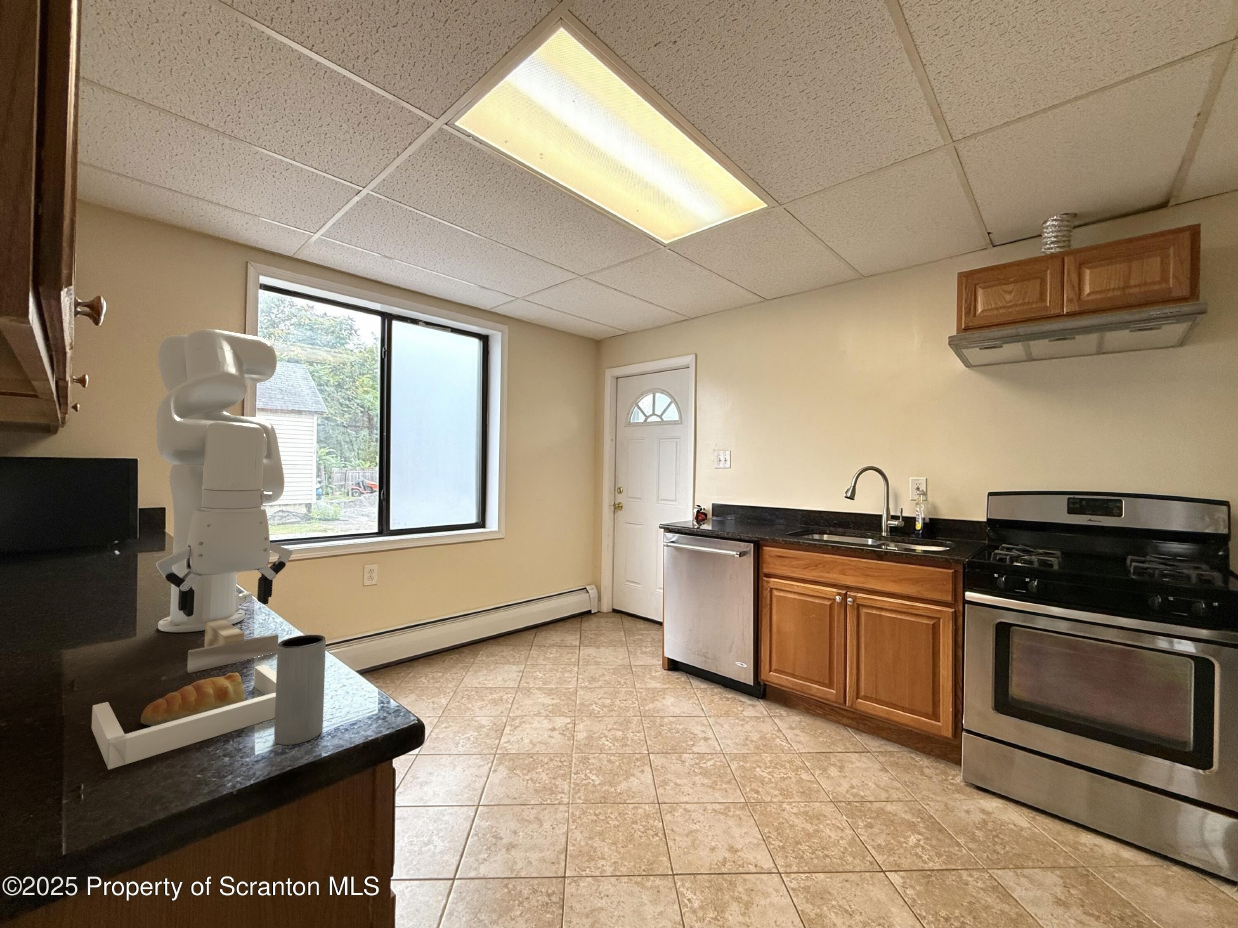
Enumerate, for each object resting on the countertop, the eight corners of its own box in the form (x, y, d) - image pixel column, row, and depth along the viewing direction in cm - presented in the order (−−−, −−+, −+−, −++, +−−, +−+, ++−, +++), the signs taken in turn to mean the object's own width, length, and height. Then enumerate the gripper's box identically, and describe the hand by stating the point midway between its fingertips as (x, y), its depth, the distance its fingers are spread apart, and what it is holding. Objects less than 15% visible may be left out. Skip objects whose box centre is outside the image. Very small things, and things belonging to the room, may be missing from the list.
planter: (266, 737, 55) (270, 641, 55) (310, 720, 59) (313, 631, 59) (285, 750, 53) (289, 650, 53) (330, 732, 56) (333, 639, 57)
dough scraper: (169, 653, 79) (170, 628, 80) (252, 637, 88) (254, 614, 88) (188, 673, 72) (190, 645, 72) (277, 653, 81) (278, 628, 81)
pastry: (147, 739, 55) (148, 703, 55) (134, 720, 59) (135, 687, 59) (250, 708, 62) (251, 677, 62) (232, 693, 66) (233, 664, 66)
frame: (91, 728, 56) (92, 705, 56) (264, 683, 69) (265, 664, 69) (108, 769, 49) (109, 743, 49) (299, 710, 61) (299, 689, 61)
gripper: (286, 497, 89) (280, 593, 89) (154, 499, 76) (148, 613, 76) (302, 501, 84) (297, 603, 85) (165, 504, 71) (159, 626, 71)
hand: (227, 608), depth 80 cm, fingers open, 9 cm apart
